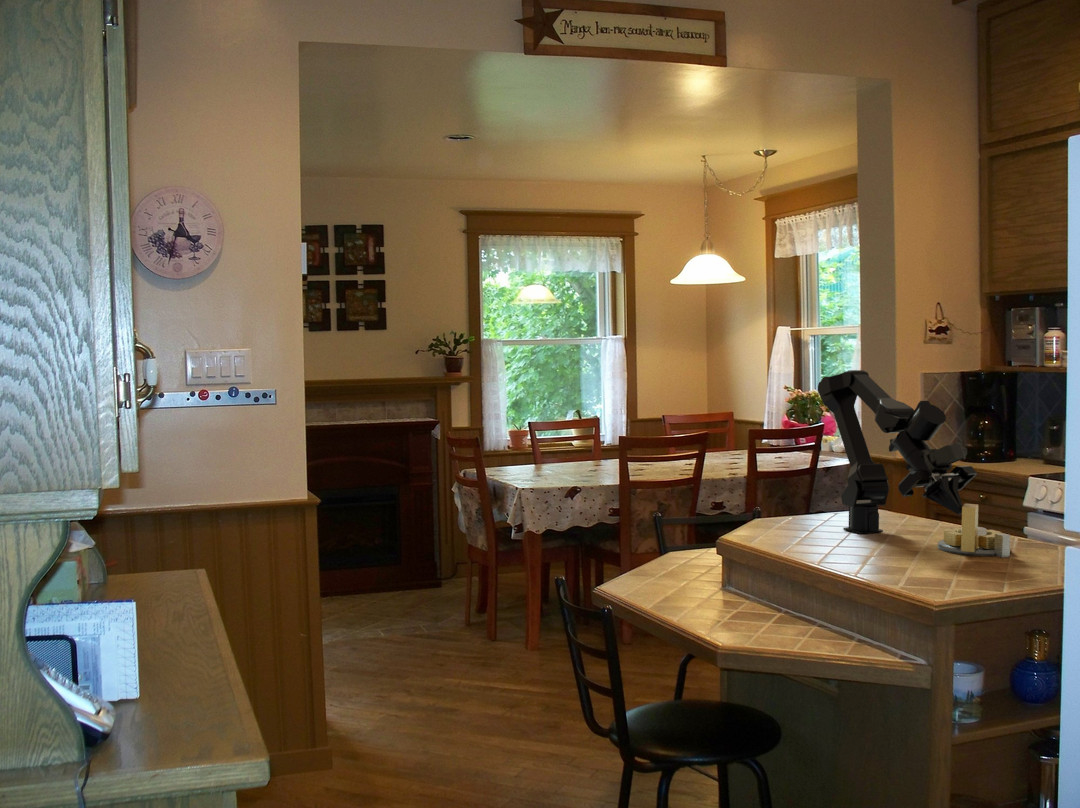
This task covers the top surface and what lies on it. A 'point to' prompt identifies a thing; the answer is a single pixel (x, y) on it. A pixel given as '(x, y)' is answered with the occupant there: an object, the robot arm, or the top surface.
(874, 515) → the robot arm
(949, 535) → the beige block cluster
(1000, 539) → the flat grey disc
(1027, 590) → the top surface
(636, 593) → the top surface
